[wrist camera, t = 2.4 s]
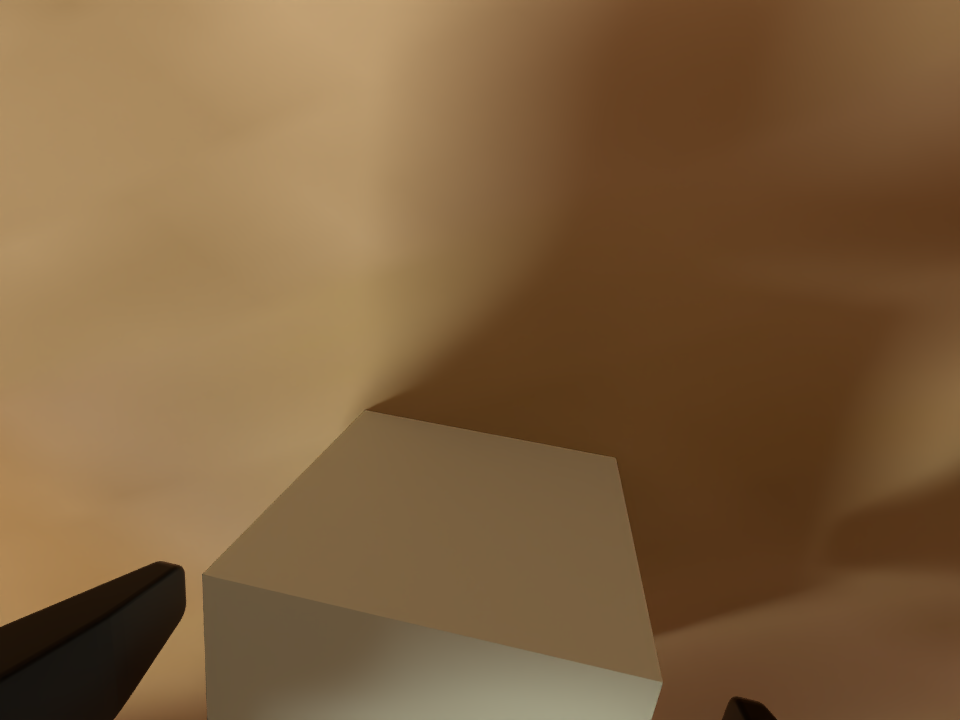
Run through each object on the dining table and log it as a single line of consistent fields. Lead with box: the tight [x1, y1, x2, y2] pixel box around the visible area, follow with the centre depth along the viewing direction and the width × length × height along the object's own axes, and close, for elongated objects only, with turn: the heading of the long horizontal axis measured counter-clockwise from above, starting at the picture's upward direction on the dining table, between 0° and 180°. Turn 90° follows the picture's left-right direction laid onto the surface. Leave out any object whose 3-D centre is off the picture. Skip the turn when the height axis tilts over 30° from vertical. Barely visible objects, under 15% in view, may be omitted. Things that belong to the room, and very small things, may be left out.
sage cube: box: [202, 410, 663, 720], centre depth 9 cm, size 5×5×5 cm
